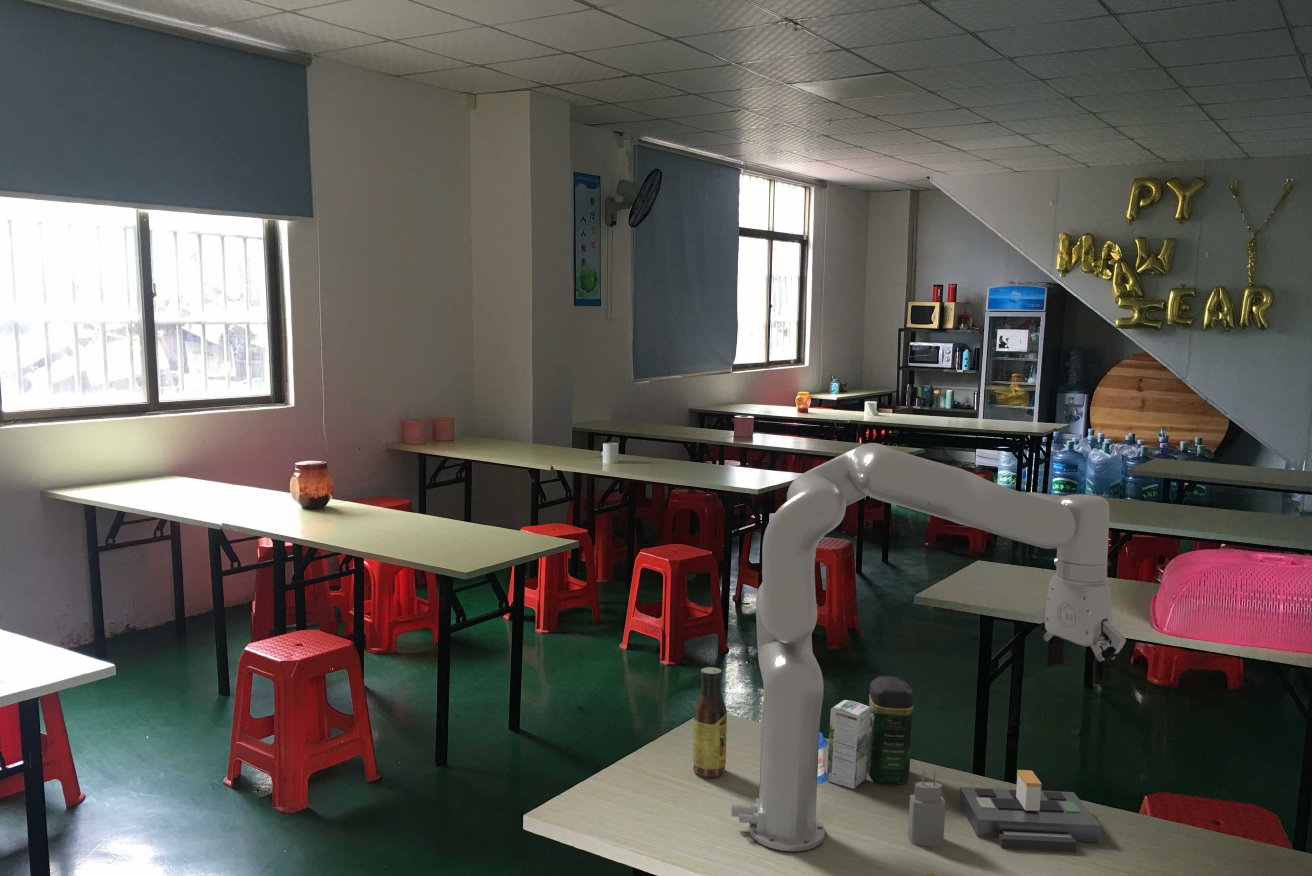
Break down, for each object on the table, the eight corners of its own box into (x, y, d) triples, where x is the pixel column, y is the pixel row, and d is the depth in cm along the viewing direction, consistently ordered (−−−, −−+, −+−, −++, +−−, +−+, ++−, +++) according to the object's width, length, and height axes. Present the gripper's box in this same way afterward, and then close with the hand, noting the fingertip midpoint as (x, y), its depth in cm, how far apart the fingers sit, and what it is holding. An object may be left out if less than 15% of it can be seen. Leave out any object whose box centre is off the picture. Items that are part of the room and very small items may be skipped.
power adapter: (906, 835, 164) (910, 766, 162) (938, 835, 164) (942, 766, 162) (911, 844, 161) (915, 774, 159) (944, 845, 161) (948, 775, 159)
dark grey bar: (1001, 847, 160) (1002, 838, 160) (996, 838, 163) (996, 829, 163) (1076, 851, 159) (1076, 842, 159) (1069, 842, 162) (1070, 833, 162)
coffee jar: (913, 788, 181) (918, 691, 179) (869, 785, 182) (874, 689, 180) (904, 765, 191) (908, 673, 189) (862, 763, 191) (867, 671, 189)
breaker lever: (1024, 810, 166) (1026, 782, 166) (1015, 796, 171) (1017, 769, 171) (1039, 811, 166) (1041, 783, 166) (1030, 797, 171) (1031, 770, 171)
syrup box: (839, 770, 188) (842, 697, 186) (868, 779, 184) (871, 705, 183) (826, 781, 183) (829, 706, 181) (855, 790, 180) (858, 714, 178)
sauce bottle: (726, 779, 183) (729, 677, 181) (692, 778, 183) (695, 676, 181) (724, 764, 189) (727, 665, 187) (692, 763, 189) (694, 664, 187)
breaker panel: (977, 836, 164) (978, 818, 163) (959, 802, 176) (960, 785, 175) (1099, 842, 163) (1100, 824, 162) (1072, 808, 174) (1073, 790, 174)
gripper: (1024, 562, 165) (1020, 660, 166) (1107, 585, 149) (1103, 694, 151) (1057, 558, 168) (1054, 654, 169) (1143, 580, 152) (1138, 687, 153)
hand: (1077, 673), depth 160 cm, fingers open, 9 cm apart
